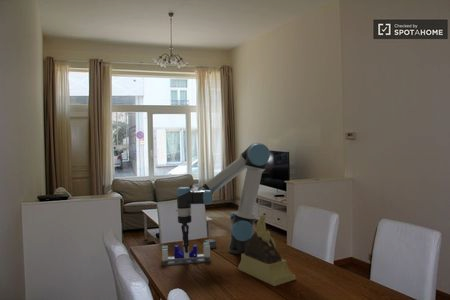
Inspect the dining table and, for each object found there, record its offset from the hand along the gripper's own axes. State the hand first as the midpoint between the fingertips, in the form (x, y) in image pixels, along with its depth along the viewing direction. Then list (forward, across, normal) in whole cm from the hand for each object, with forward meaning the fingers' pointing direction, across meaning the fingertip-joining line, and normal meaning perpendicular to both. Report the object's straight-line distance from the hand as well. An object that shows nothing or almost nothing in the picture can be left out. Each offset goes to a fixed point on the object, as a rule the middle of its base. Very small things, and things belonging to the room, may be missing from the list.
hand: (186, 255), depth 214 cm
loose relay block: (+3, -22, +16) cm, 27 cm away
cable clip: (+1, 0, 0) cm, 1 cm away
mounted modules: (+1, 0, 0) cm, 1 cm away
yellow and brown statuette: (+3, +32, +37) cm, 49 cm away
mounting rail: (+3, 0, 0) cm, 3 cm away
